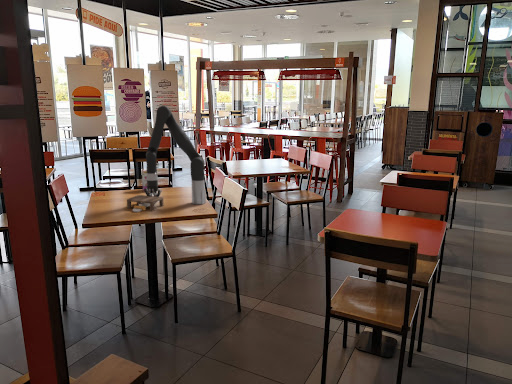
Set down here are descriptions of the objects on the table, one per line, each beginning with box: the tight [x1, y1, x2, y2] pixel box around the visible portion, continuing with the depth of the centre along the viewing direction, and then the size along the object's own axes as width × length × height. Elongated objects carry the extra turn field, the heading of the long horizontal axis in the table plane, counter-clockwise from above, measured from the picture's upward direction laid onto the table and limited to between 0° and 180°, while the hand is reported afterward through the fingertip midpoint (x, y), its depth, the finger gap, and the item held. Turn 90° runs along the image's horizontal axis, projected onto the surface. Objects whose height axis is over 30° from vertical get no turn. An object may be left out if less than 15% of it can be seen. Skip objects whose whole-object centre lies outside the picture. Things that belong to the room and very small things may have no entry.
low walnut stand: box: [126, 194, 165, 212], centre depth 280 cm, size 20×14×6 cm
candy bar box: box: [141, 169, 147, 191], centre depth 328 cm, size 11×5×16 cm, turn 84°
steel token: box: [132, 207, 143, 213], centre depth 271 cm, size 6×6×2 cm
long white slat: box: [133, 195, 161, 211], centre depth 285 cm, size 8×26×4 cm, turn 163°
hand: (153, 202), depth 290 cm, fingers closed on long white slat, 2 cm apart
